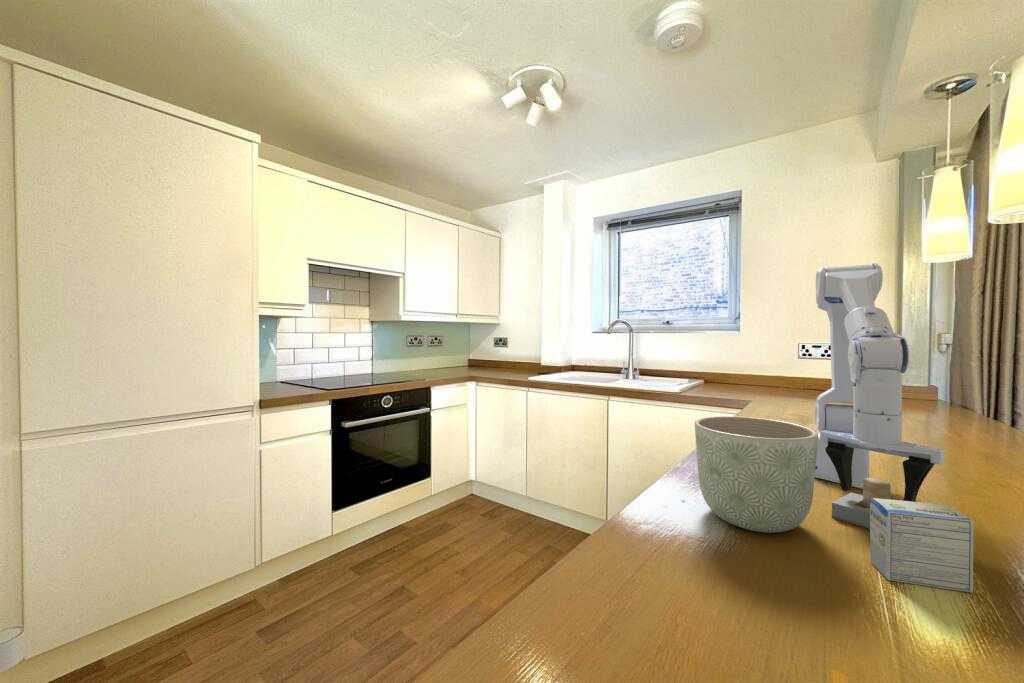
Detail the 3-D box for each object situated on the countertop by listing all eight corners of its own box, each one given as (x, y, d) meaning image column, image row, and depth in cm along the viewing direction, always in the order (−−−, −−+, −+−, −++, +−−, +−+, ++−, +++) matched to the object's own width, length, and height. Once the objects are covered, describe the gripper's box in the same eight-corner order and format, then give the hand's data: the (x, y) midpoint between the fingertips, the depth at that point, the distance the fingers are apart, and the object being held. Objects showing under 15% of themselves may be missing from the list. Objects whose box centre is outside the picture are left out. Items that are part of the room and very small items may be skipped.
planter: (697, 492, 76) (697, 412, 76) (807, 510, 68) (807, 421, 68) (690, 530, 61) (690, 431, 61) (830, 559, 53) (830, 444, 53)
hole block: (831, 517, 65) (831, 502, 65) (850, 506, 69) (851, 492, 69) (907, 540, 58) (907, 524, 58) (923, 526, 62) (923, 511, 62)
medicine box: (947, 573, 50) (947, 504, 50) (974, 595, 45) (975, 519, 45) (868, 562, 52) (868, 496, 52) (888, 582, 48) (888, 510, 48)
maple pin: (859, 517, 64) (860, 480, 64) (867, 513, 66) (867, 476, 66) (886, 525, 61) (886, 486, 61) (893, 520, 63) (893, 482, 63)
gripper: (812, 408, 67) (812, 487, 67) (934, 423, 55) (934, 520, 55) (829, 404, 71) (829, 480, 71) (948, 417, 59) (947, 509, 59)
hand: (876, 497), depth 63 cm, fingers open, 7 cm apart
